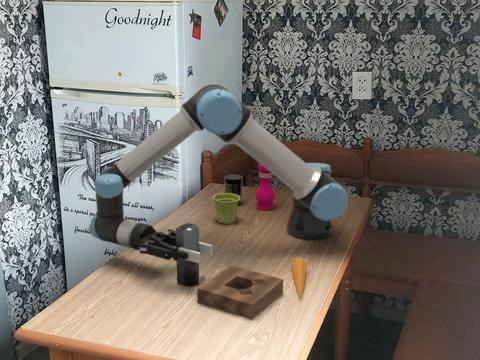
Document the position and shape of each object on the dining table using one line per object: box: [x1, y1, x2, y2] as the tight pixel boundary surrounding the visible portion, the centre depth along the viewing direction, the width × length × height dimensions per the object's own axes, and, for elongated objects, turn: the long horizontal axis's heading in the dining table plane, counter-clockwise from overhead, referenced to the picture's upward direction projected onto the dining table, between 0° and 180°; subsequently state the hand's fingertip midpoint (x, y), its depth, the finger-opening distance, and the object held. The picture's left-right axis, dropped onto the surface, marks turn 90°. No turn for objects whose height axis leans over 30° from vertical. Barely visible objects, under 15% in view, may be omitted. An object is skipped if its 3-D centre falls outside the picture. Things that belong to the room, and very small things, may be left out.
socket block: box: [196, 265, 284, 321], centre depth 153 cm, size 16×16×4 cm
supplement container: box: [223, 173, 243, 206], centre depth 222 cm, size 7×7×10 cm
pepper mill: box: [255, 162, 276, 211], centre depth 217 cm, size 7×7×20 cm
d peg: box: [175, 222, 200, 288], centre depth 159 cm, size 5×5×16 cm
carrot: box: [291, 257, 308, 301], centre depth 161 cm, size 20×4×4 cm, turn 176°
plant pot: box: [212, 192, 240, 225], centre depth 205 cm, size 9×9×9 cm
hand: (205, 254), depth 156 cm, fingers closed on d peg, 5 cm apart
